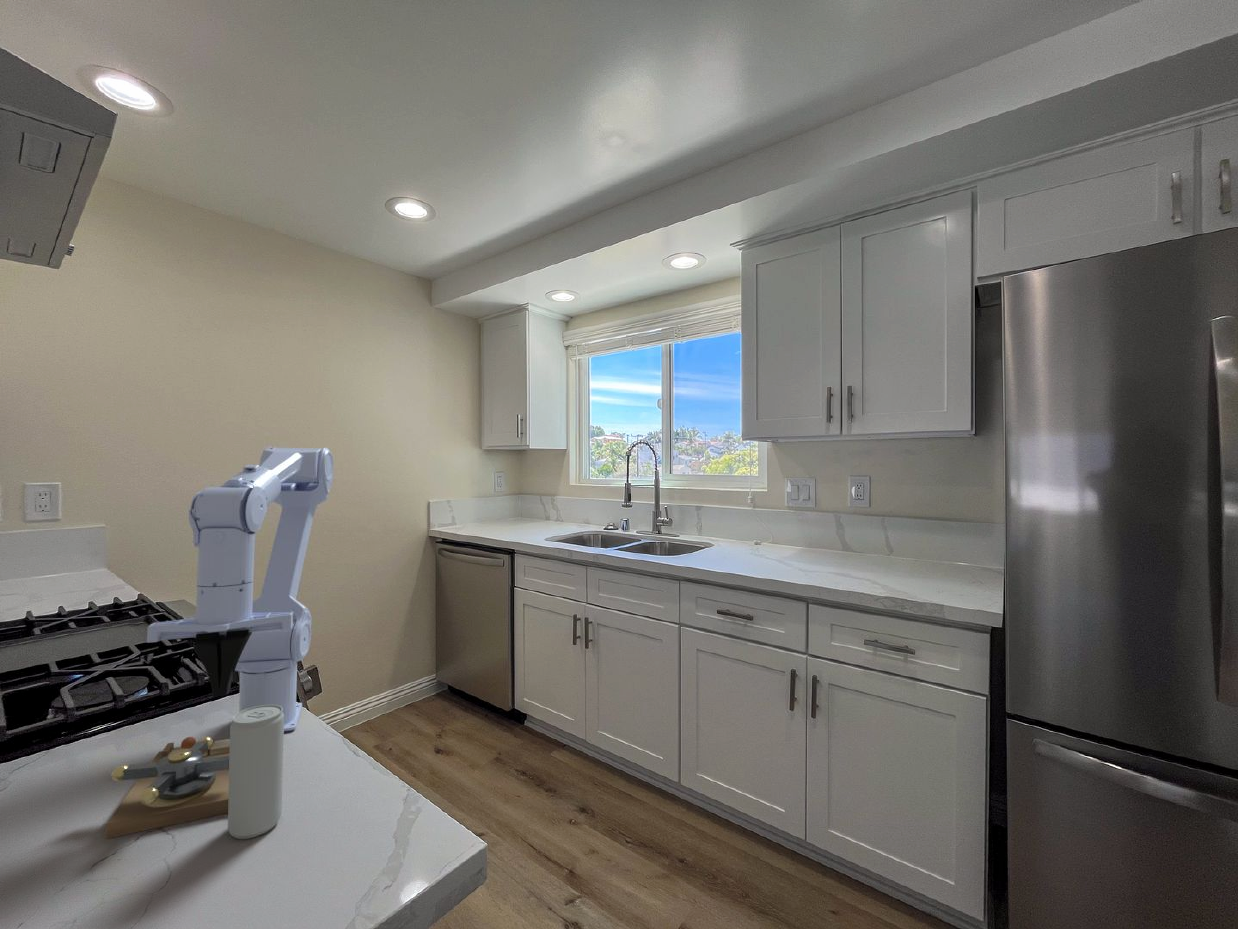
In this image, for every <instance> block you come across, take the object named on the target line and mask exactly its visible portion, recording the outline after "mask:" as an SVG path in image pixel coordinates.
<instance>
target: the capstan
mask: <svg viewBox="0 0 1238 929" xmlns="http://www.w3.org/2000/svg"><path fill="white" fill-rule="evenodd" d="M213 741H214V739H213V738H212V737H211V736H203V737H201V738H200V739H199V740H198V741H196V744H195V745H194V746H192V747H191V748H190V749H181V750H177V751H175V752H172V753H171V754H169V755H168V756H166V757H164V758H162V759H161V760H159V761H158V762H157V763H151V762H149V763H138V764H129V765H127V764H123V765H118V766H117V767H115V768H114V769H113V771H112V772H111V779H112V781H115V782H122V781H130V780H131V781H132V780H139V779H142V778H152V777H156V780H155V781H154V782H153V783H152V784H151V785H149V786H148V787H147V788H146V789H145V790H144V791H143V792H142V793H141V794H140V796H139V802H140V803H141V804H142V805H149V804H152V803H153V802H155V801H156V800H157V798H160V799H163V800H175V799H181V798H185V797H189V796H192V795H195V794H197V793H199V792H202V791H204V790H205V789H207V788H208V787H210V786H211V785H212V784H213V783H214V782H215V779H216V771H222V770H229V756H220V757H210V758H202V755H203V754H204V753H205V752H206V751H207V750H208V749H209V748H210V747H211V746H212V744H213Z"/></svg>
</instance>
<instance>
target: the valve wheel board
mask: <svg viewBox="0 0 1238 929" xmlns="http://www.w3.org/2000/svg"><path fill="white" fill-rule="evenodd" d="M196 743H197V741H196V738H195V737H193V736H187V737H186V738H184V739H183V740H182V741H181V743H180V746H178V747H177V746H176V747H175V742H167V743H166V745H165V746H164V748H163V750H160V751H158V753H157V754H156V755H155V757H154V758H153V760H151V762H150V763H157V762H158V761H159V760H161V759H162V758H164V757H166V756H168V755H169V754H171V753H172V752H175V751H177V750H181V749H190V748H191V747H192V746H194V745H195V744H196ZM229 747H230V738H226V739H225V738H224V739H220V740H213V744H212V746H211V747H210V748H209V749H208V750H207V751H206V752H205V753H204V754H203V755H202V758H210V757H220V756H229ZM155 780H156V777H152V778H142V779H137V781H136V783H134V785H133V787H132V788H131V789H130V790H129V792H128V793H127V795H126V796H125V797H124V798H123V800H122V801H121V802H120V804H119V805H118V807H117V808H116V810H115V811H114V812H113V814H112V815H111V816H110V818H109V819H108V820H107V822H106V823H105V835H104V837H105V839H109V838H110V839H111V838H116V837H120V836H125V835H130V834H134V833H138V832H144V831H149V830H153V829H157V828H163V827H166V826H167V827H168V826H172V825H176V824H177V825H178V824H181V823H186V822H187V823H188V822H191V821H196V820H200V819H205V818H210V817H215V816H218V815H219V816H221V815H223V814H224V815H225V814H228V793H229V770H222V771H216V779H215V782H214V783H213V784H212V785H211V786H210V787H208V788H207V789H205V790H204V791H202V792H199V793H197V794H195V795H192V796H189V797H185V798H181V799H175V800H163V799H160V798H157V800H156V801H155V802H153V803H152V804H149V805H142V804H141V803H140V802H139V796H140V794H141V793H142V792H143V791H144V790H145V789H146V788H147V787H148V786H149V785H151V784H152V783H153V782H154V781H155Z"/></svg>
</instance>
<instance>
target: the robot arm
mask: <svg viewBox="0 0 1238 929" xmlns="http://www.w3.org/2000/svg"><path fill="white" fill-rule="evenodd" d="M259 460H260V461H259V464H245V465H244V466H243V467H242V470H241V471H240V472H238V473H237V474H236V475H234V476H233V477H231V478H229V479H228V480H227V481H225V482H224V483H223V484H221V485H220V486H217V487H216V486H215V487H211V486H210V487H209V486H208V487H205V488H203V489H202V490H201V491H200V490H199V491H198V492H196V494H194V496H193V498H192V499H191V500H192V501H191V504H190V508H189V510H188V520H189V521H188V522H189V524H190V527H191V529H192V534H193V538H192V540H193V541H192V542H193V544H194V547H195V548H198V550H197V552H198V554H197V555H198V556H197V560H198V561H197V574H196V576H197V577H196V578H197V581H196V601H195V602H196V604H195V606H196V607H195V608H196V609H195V617H192V618H183V619H177V620H168V621H167V620H166V621H157V622H156V621H155V622H152V623H151V624H149V625H147V635H146V643H148V644H149V643H157V642H160V641H164V640H165V641H166V640H167V641H169V640H178V639H187V638H188V639H189V638H195V640H194V643H193V644H192V648H193V652H195V654H196V655H197V657H198V658H199V660H200V661H201V663H202V666H203V667H204V669H205V672H206V674H207V677H208V679H209V683H210V686H211V691H212V697H213V698H217V697H224V696H226V697H227V695H228V694H229V693H230V691H231V686H232V681H233V677H234V673H235V672H239V695H238V696H239V702H238V703H239V704H238V712H240V711H242V710H245V709H248V708H251V707H255V706H261V705H279V706H281V707H282V708H283V711H282V712H283V714H284V732H289V731H294V730H296V729H297V727H298V724H299V723H298V722H299V718H300V715H301V711H302V707H303V702H297V681H298V680H297V677H298V662H300V661H302V660H303V659H304V657H306V656H307V654H308V651H309V650H310V644H311V639H312V638H311V637H312V629H311V628H312V623H313V622H312V621H313V618H312V615H311V611H310V610H309V608H307V607H306V605H304V604H303V603H301V602H300V601H298V599H297V595H298V592H299V591H298V590H299V586H300V582H301V577H302V572H303V568H304V562H305V558H306V553H307V549H308V544H309V539H310V535H311V530H312V525H313V521H314V517H315V514H316V510H317V507H318V505H320V504H322V503H324V502H326V501H327V500H328V498H329V494H330V493H331V487H332V482H333V478H334V468H335V467H334V465H335V464H334V456H333V453H332V451H330V449H329V448H328V447H322V448H316V447H315V448H314V447H313V448H312V447H309V448H308V447H275V446H267V447H266V448H265V449H263V451H262V453H261V456H260V459H259ZM272 503H275V504H277V505H280V507H281V512H280V516H279V521H278V524H277V527H276V528H277V529H276V532H275V536H274V540H273V543H272V548H271V552H270V556H269V560H268V564H267V568H266V572H265V577H264V580H263V584H262V587H261V588H262V589H261V592H260V597H258V598H257V599H256V600H254V577H255V576H254V574H255V572H254V571H255V551H256V550H255V549H256V547H255V546H256V533H257V531H260V530H261V528H262V526H263V523H264V521H265V520H264V518H265V516H266V514H268V513H267V512H268V511H269V510H268V507H269V506H270V505H271V504H272Z"/></svg>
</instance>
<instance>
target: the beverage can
mask: <svg viewBox="0 0 1238 929" xmlns="http://www.w3.org/2000/svg"><path fill="white" fill-rule="evenodd" d="M282 711H283V708H282V707H281V706H279V705H261V706H255V707H251V708H248V709H245V710H242V711H240V712H239V711H238V712H237V713H235V714H234V715H233V716H232V718H231V724H230V726H229V739H230V747H229V793H228V813H227V815H228V816H227V830H228V832H229V834H230V835H231V837H233V838H235V839H238V840H247V839H251V838H256V837H259V836H261V835H263V834H265V833H267V832H269V831H270V830H272V829H273V828H274V827H275V826H276V825H277V823H278V822H279V820H280V819H281V818H282V813H283V812H282V811H283V810H282V808H283V806H282V805H283V776H284V775H283V772H284V770H283V768H284V767H283V766H284V738H285V736H284V735H285V734H284V733H285V731H284V714H283V712H282Z"/></svg>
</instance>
